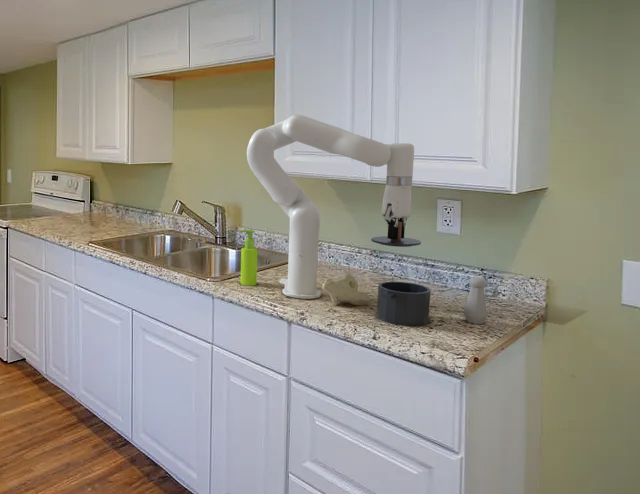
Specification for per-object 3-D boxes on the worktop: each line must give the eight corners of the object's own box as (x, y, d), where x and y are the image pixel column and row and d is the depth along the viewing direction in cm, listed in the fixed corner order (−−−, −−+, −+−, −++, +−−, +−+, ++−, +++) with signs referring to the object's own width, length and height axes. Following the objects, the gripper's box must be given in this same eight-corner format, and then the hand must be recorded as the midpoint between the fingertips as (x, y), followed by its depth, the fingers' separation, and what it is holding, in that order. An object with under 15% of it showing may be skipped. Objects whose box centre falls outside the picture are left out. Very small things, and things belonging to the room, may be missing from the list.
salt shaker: (488, 321, 160) (492, 278, 158) (484, 326, 155) (488, 281, 154) (465, 317, 164) (468, 274, 162) (461, 322, 159) (464, 278, 158)
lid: (362, 242, 181) (363, 221, 180) (386, 238, 189) (387, 217, 188) (406, 249, 169) (407, 226, 168) (429, 244, 177) (431, 222, 176)
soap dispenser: (238, 280, 207) (240, 228, 205) (257, 282, 205) (259, 229, 202) (236, 284, 202) (238, 230, 199) (255, 286, 199) (257, 231, 197)
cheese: (361, 304, 183) (325, 273, 187) (376, 292, 179) (339, 261, 182) (347, 329, 173) (309, 296, 176) (363, 317, 168) (323, 283, 171)
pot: (362, 318, 163) (364, 287, 161) (396, 307, 174) (398, 278, 172) (408, 331, 152) (410, 297, 150) (441, 318, 163) (443, 287, 161)
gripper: (400, 180, 184) (397, 234, 187) (374, 182, 175) (370, 239, 177) (423, 181, 178) (420, 237, 181) (397, 183, 169) (393, 242, 171)
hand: (395, 237), depth 179 cm, fingers closed on lid, 3 cm apart
